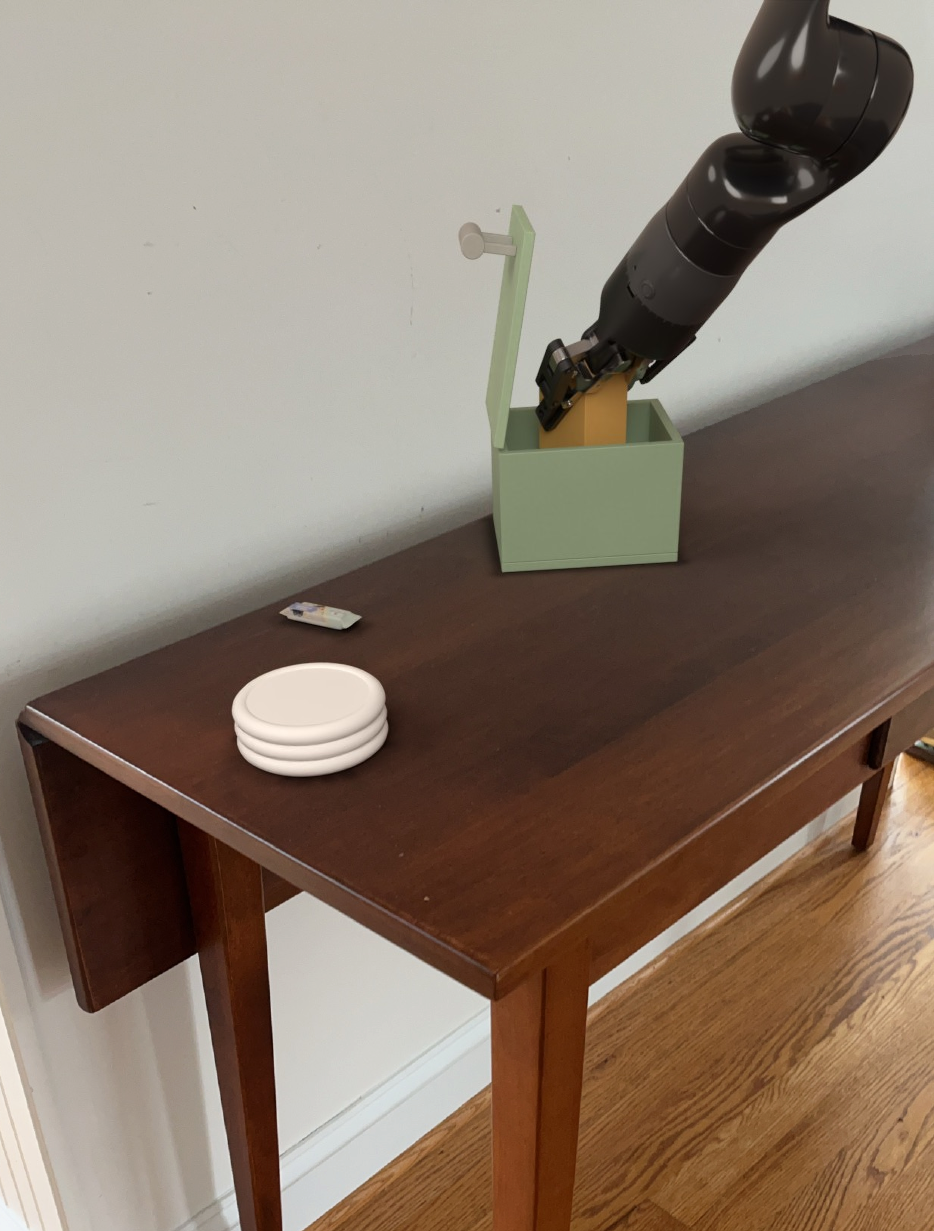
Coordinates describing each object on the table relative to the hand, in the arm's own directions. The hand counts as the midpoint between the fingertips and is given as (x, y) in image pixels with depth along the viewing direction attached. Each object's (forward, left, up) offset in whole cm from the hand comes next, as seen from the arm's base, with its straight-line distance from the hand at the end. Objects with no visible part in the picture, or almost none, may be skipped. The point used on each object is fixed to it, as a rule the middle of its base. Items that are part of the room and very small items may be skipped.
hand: (567, 414), depth 106 cm
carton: (-1, +2, -5) cm, 5 cm away
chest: (-1, +2, -10) cm, 10 cm away
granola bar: (+21, +16, -10) cm, 28 cm away
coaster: (+20, +34, -10) cm, 41 cm away
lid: (+4, +2, +8) cm, 9 cm away
